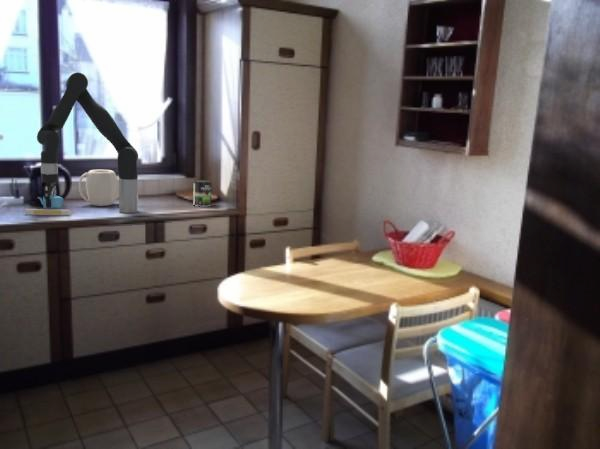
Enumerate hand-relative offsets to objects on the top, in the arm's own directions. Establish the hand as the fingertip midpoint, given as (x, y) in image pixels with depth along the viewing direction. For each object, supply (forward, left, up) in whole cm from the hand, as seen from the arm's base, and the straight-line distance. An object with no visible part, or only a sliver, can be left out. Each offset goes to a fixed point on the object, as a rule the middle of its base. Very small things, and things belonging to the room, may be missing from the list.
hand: (50, 205), depth 274 cm
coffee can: (-73, -36, -5) cm, 82 cm away
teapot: (0, 0, -2) cm, 2 cm away
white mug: (-20, -32, -5) cm, 38 cm away
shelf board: (0, +1, -4) cm, 4 cm away
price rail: (0, +6, -3) cm, 7 cm away
